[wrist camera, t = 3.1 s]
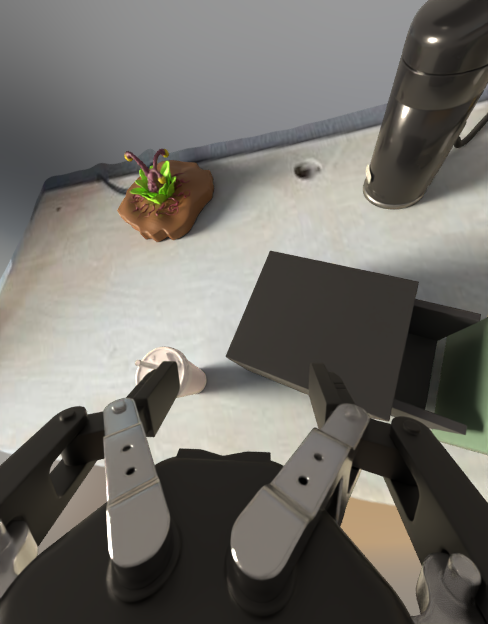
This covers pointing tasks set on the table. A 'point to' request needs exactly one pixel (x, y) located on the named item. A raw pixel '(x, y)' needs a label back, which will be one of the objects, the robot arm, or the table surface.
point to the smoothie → (188, 372)
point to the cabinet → (327, 327)
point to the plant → (166, 197)
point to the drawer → (447, 375)
